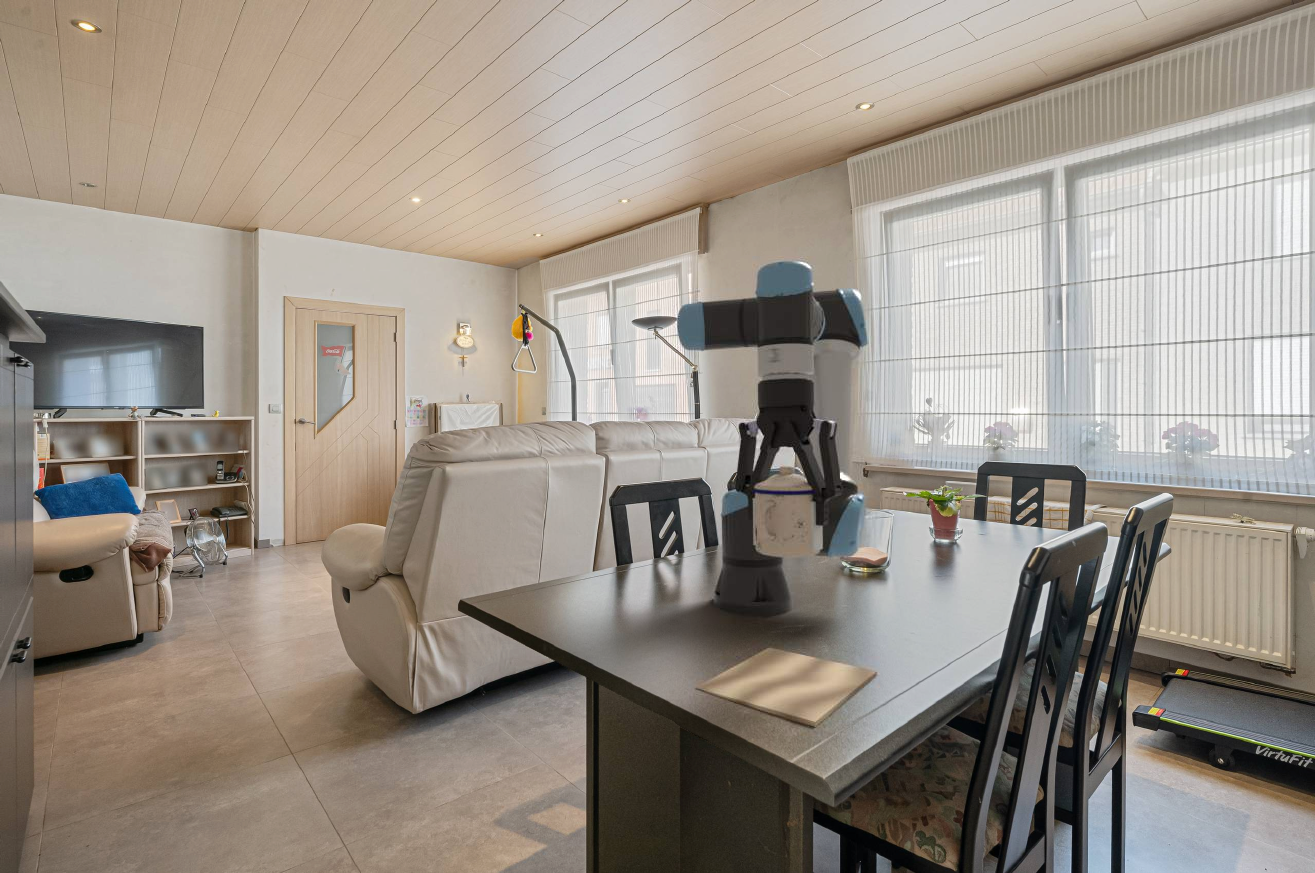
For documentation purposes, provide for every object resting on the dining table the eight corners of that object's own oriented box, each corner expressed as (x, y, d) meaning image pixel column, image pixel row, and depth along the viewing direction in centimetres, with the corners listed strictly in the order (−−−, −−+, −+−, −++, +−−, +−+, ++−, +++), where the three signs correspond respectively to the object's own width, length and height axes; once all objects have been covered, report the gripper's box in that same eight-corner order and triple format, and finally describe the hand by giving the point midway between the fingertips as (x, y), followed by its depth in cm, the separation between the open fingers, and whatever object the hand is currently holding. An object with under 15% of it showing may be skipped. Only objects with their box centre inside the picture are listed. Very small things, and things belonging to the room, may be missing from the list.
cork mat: (695, 692, 86) (695, 687, 86) (769, 651, 102) (769, 647, 102) (815, 726, 76) (815, 721, 76) (877, 675, 91) (876, 671, 91)
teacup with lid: (775, 543, 95) (774, 464, 95) (833, 550, 89) (832, 465, 89) (728, 556, 86) (727, 468, 86) (790, 564, 80) (789, 470, 80)
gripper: (707, 381, 92) (709, 543, 92) (847, 372, 79) (849, 559, 79) (735, 384, 98) (737, 536, 98) (869, 375, 85) (871, 550, 85)
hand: (787, 546), depth 89 cm, fingers closed on teacup with lid, 8 cm apart
